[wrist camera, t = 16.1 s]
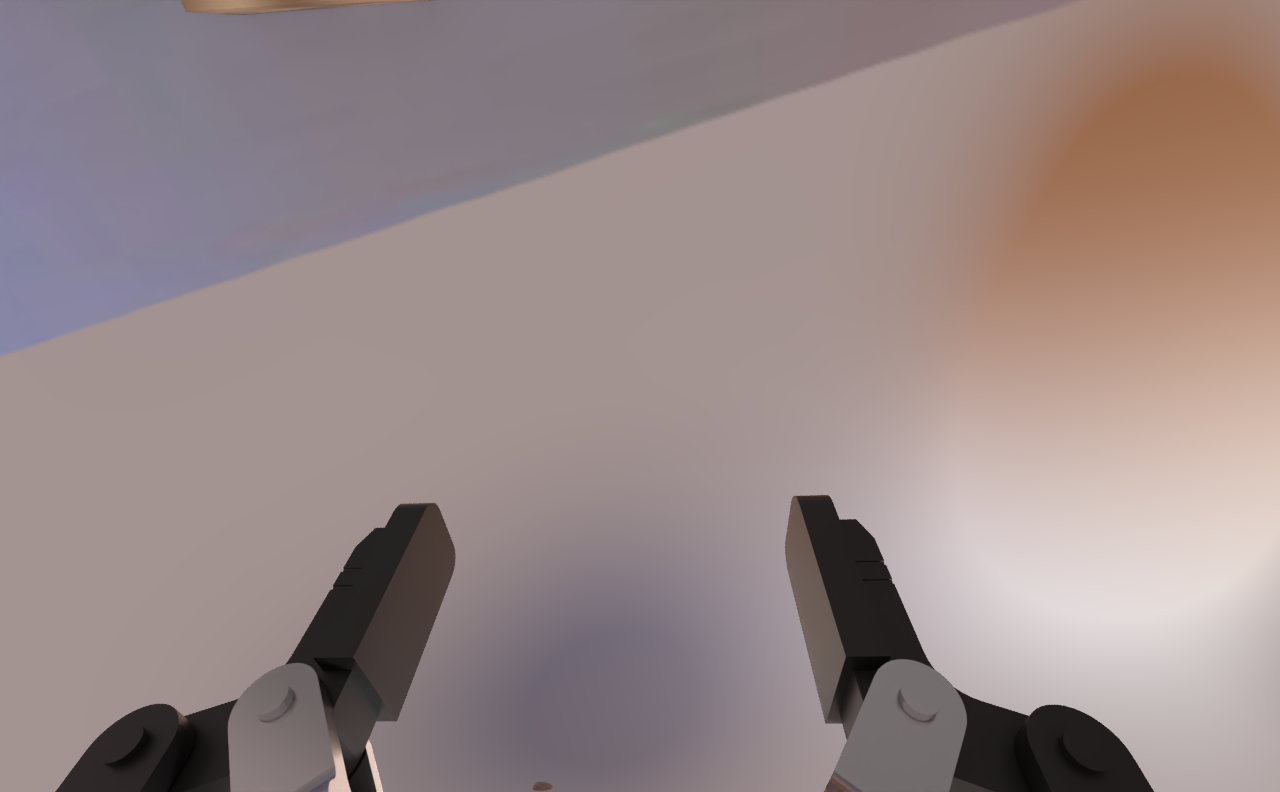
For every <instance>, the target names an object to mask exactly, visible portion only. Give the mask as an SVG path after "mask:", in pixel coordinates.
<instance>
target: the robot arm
mask: <svg viewBox="0 0 1280 792" xmlns="http://www.w3.org/2000/svg"><path fill="white" fill-rule="evenodd" d="M785 544H786V545H785V553H786V562H787V569H788V573H789V577H790V581H791V585H792V589H793V593H794V597H795V601H796V605H797V610H798V613H799V617H800V622H801V625H802V630H803V633H804V638H805V642H806V646H807V650H808V654H809V658H810V662H811V666H812V670H813V674H814V678H815V682H816V686H817V690H818V694H819V698H820V702H821V707H822V711H823V715H824V719H825V723H842V724H843V727H844V731H845V735H846V739H847V742H846V744H845V747H844V749H843V751H842V753H841V756H840V758H839V760H838V763H837V765H836V768H835V770H834V772H833V774H832V776H831V779H830V781H829V783H828V785H827V786H826V789H825V791H824V792H1154V791H1153V789H1152V788H1151V786H1150V785H1149V783H1148V781H1147V779H1146V778H1145V776H1144V774H1143V773H1142V771H1141V769H1140V768H1139V766H1138V764H1137V763H1136V761H1135V760H1134V758H1133V756H1132V755H1131V753H1130V752H1129V751H1128V749H1127V748H1126V746H1125V745H1124V744H1123V743H1122V742H1121V741H1120V739H1119V738H1118V737H1117V736H1115V735H1114V734H1113V733H1112V732H1111V731H1110V730H1109V729H1108V728H1107V727H1105V726H1104V725H1103V724H1101V723H1100V722H1098V721H1097V720H1095V719H1094V718H1092V717H1091V716H1089V715H1087V714H1085V713H1083V712H1081V711H1078V710H1076V709H1074V708H1070V707H1066V706H1061V705H1046V706H1042V707H1039V708H1037V709H1036V710H1035V711H1033V713H1031V715H1030V716H1027V715H1024V714H1021V713H1018V712H1015V711H1011V710H1008V709H1005V708H1002V707H998V706H995V705H992V704H989V703H985V702H982V701H980V700H977V699H974V698H972V697H970V696H968V695H966V694H964V693H962V692H960V691H959V690H957V689H956V688H954V687H953V686H952V684H951V683H950V682H949V681H948V680H947V679H946V678H945V677H944V676H942V675H941V674H940V673H938V672H937V671H936V670H935V669H934V668H933V667H932V666H931V664H930V662H929V661H928V659H927V657H926V655H925V653H924V651H923V649H922V647H921V644H920V642H919V640H918V638H917V635H916V633H915V631H914V628H913V626H912V624H911V622H910V619H909V617H908V615H907V613H906V610H905V608H904V605H903V603H902V601H901V598H900V596H899V594H898V592H897V589H896V587H895V585H894V584H893V583H892V578H891V576H890V573H889V571H888V569H887V566H886V565H884V559H883V557H882V555H881V553H880V550H879V548H878V546H877V543H876V541H875V539H874V538H873V536H872V535H871V534H870V533H869V532H868V531H867V530H866V529H865V528H864V527H863V526H862V525H861V524H860V523H859V522H858V521H857V520H856V519H853V520H852V519H849V520H839V517H838V515H837V512H836V509H835V507H834V504H833V502H832V500H831V498H830V496H828V495H817V496H794V497H793V498H792V501H791V508H790V515H789V521H788V528H787V535H786V543H785ZM454 566H455V548H454V545H453V542H452V540H451V537H450V535H449V532H448V529H447V527H446V524H445V522H444V519H443V517H442V514H441V512H440V509H439V508H438V506H437V505H436V504H435V503H419V504H400V505H399V506H398V507H397V508H396V509H395V511H394V512H393V514H392V516H391V518H390V519H389V521H388V523H387V525H386V527H385V528H375V529H374V530H373V531H372V532H371V533H370V534H369V535H368V536H367V537H366V538H365V539H364V540H362V542H360V543H359V544H358V545H357V546H356V548H355V549H354V551H353V553H352V554H351V556H350V558H349V560H348V561H347V563H346V564H345V566H344V571H343V572H341V573H340V575H339V576H338V578H337V580H336V582H335V583H334V585H333V590H330V592H329V593H328V595H327V597H326V598H325V600H324V602H323V604H322V605H321V607H320V609H319V610H318V612H317V614H316V615H315V617H314V619H313V620H312V622H311V624H310V625H309V627H308V629H307V631H306V632H305V634H304V636H303V637H302V639H301V641H300V643H299V644H298V646H297V648H296V649H295V651H294V653H293V654H292V656H291V658H290V659H289V661H288V662H287V663H286V664H285V665H283V666H280V667H277V668H275V669H273V670H271V671H269V672H267V673H266V674H264V675H263V676H261V677H260V678H259V679H257V680H256V681H255V682H254V683H253V684H251V686H249V687H248V688H247V690H246V691H245V692H244V693H243V694H242V695H241V696H240V698H239V699H237V700H234V701H231V702H228V703H225V704H221V705H218V706H215V707H212V708H209V709H206V710H202V711H199V712H196V713H193V714H190V715H187V716H183V715H182V714H181V713H179V712H178V711H177V710H176V709H175V708H173V707H172V706H170V705H167V704H154V705H149V706H146V707H143V708H140V709H138V710H136V711H133V712H131V713H130V714H128V715H126V716H124V717H123V718H121V719H120V720H118V721H117V722H115V723H114V724H113V725H111V726H110V727H109V728H108V729H106V731H104V732H103V733H102V734H101V735H100V736H99V737H98V738H97V739H96V740H95V741H94V742H93V743H92V744H91V746H90V747H89V748H88V749H87V750H86V752H85V753H84V754H83V756H82V757H81V758H80V760H79V761H78V762H77V764H76V765H75V766H74V768H73V769H72V770H71V772H70V773H69V774H68V776H67V777H66V778H65V780H64V781H63V783H62V784H61V785H60V787H59V788H58V789H57V790H56V792H383V789H382V785H381V781H380V777H379V773H378V769H377V765H376V761H375V757H374V754H373V750H372V746H371V743H370V741H369V737H370V735H371V732H372V730H373V727H374V725H375V722H376V721H397V719H398V717H399V714H400V711H401V709H402V706H403V704H404V701H405V698H406V696H407V693H408V690H409V688H410V685H411V683H412V680H413V677H414V675H415V672H416V669H417V667H418V664H419V662H420V659H421V656H422V654H423V651H424V648H425V646H426V643H427V640H428V638H429V635H430V632H431V630H432V627H433V624H434V622H435V619H436V616H437V614H438V611H439V609H440V606H441V603H442V601H443V598H444V595H445V593H446V590H447V588H448V585H449V582H450V580H451V577H452V574H453V571H454Z"/></svg>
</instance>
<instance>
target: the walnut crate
mask: <svg viewBox="0 0 1280 792" xmlns="http://www.w3.org/2000/svg"><path fill="white" fill-rule="evenodd" d="M416 1H429V0H181V2H182V4H183V7H184V9H185V11H186V12H195V13H213V14H232V15H243V14H256V13H269V12H283V11H296V10H309V9H323V8H336V7H349V6H362V5H376V4H389V3H402V2H416Z"/></svg>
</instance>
